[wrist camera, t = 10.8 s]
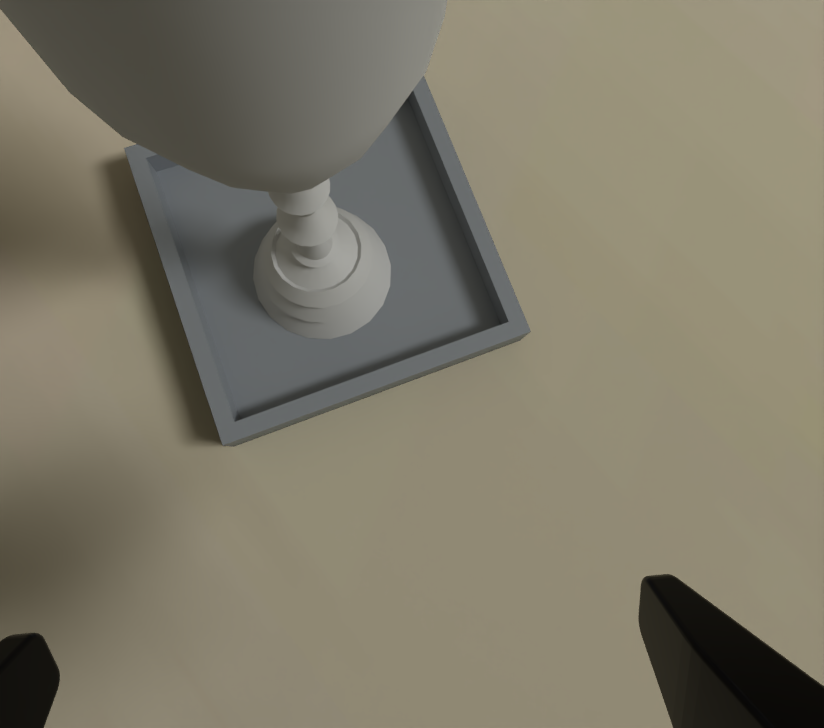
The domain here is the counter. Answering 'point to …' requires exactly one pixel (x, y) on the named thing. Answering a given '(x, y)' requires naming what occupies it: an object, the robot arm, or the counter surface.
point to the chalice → (256, 116)
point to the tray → (390, 327)
